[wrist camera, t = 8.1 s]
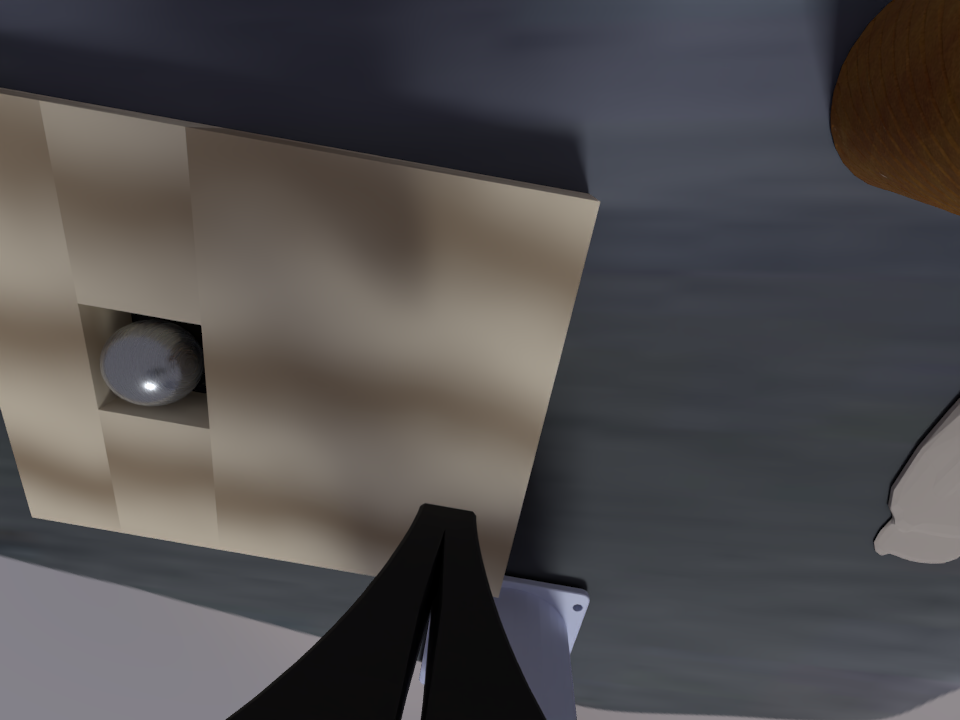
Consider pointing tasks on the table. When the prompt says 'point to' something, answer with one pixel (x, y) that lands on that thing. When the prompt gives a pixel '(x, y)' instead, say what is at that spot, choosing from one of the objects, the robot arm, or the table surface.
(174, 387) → the steel ball
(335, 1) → the table surface
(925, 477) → the beige bookend
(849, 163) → the disposable coffee cup
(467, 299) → the birch plate
